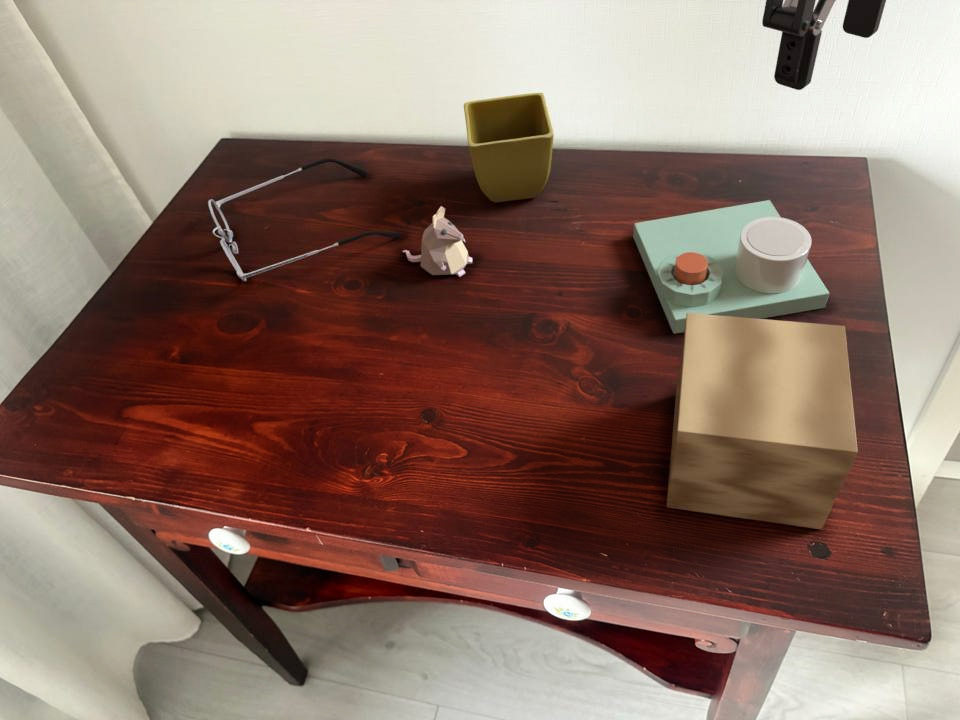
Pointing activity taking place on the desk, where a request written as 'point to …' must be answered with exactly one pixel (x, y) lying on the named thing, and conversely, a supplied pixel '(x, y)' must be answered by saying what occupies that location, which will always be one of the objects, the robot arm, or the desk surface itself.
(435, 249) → the mouse figurine
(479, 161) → the flower pot
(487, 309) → the desk surface
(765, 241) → the ramekin
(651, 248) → the scale
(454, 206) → the desk surface
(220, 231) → the eyeglasses
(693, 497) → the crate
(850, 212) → the desk surface
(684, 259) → the button
